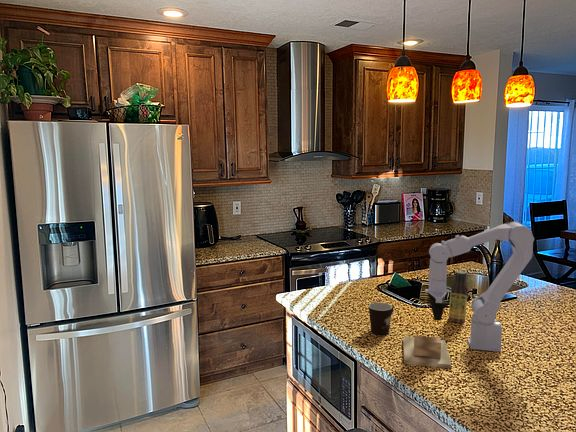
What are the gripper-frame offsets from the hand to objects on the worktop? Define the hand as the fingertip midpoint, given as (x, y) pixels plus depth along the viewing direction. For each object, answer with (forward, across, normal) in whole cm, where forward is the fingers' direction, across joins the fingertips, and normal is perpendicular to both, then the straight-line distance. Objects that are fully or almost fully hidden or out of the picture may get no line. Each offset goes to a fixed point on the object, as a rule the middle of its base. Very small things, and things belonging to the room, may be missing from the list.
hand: (436, 316), depth 149 cm
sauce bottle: (+10, -22, +10) cm, 26 cm away
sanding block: (+8, +14, -4) cm, 17 cm away
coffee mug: (+10, -5, -18) cm, 21 cm away
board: (+9, +10, -4) cm, 14 cm away
